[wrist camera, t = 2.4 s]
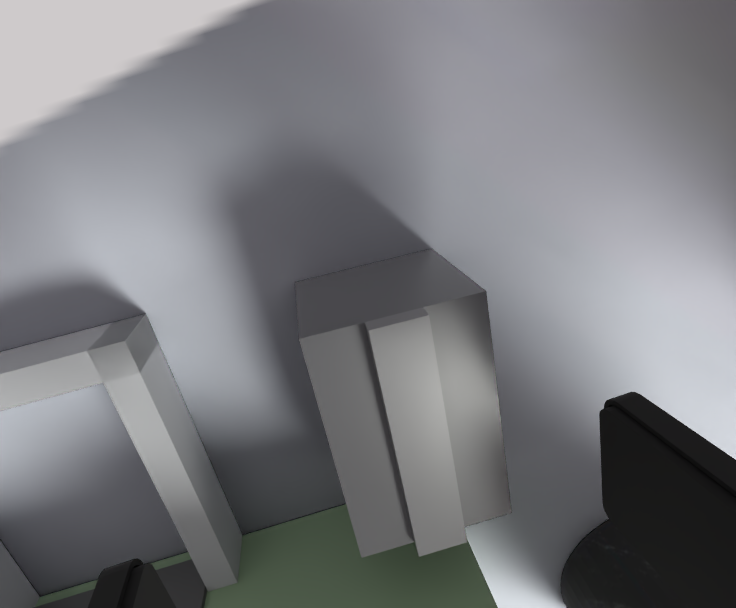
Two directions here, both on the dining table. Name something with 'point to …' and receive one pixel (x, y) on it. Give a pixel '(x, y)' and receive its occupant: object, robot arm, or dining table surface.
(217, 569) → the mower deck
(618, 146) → the dining table surface
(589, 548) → the travel mug
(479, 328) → the ridged grey block
